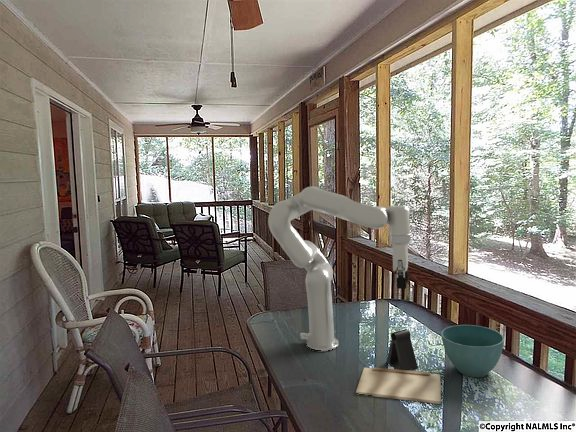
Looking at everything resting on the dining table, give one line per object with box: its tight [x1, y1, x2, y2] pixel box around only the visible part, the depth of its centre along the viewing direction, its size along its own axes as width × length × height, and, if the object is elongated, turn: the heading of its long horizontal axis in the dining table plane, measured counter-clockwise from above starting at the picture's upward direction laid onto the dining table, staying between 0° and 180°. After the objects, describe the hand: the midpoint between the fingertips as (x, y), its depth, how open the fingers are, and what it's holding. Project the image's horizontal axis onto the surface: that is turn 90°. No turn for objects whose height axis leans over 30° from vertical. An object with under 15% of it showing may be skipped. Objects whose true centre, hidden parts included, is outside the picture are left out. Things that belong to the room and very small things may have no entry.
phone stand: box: [386, 328, 419, 371], centre depth 139 cm, size 9×6×12 cm, turn 24°
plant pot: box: [440, 324, 505, 378], centre depth 131 cm, size 18×18×12 cm
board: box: [355, 366, 442, 405], centre depth 126 cm, size 24×16×1 cm, turn 71°
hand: (402, 284), depth 151 cm, fingers open, 9 cm apart
